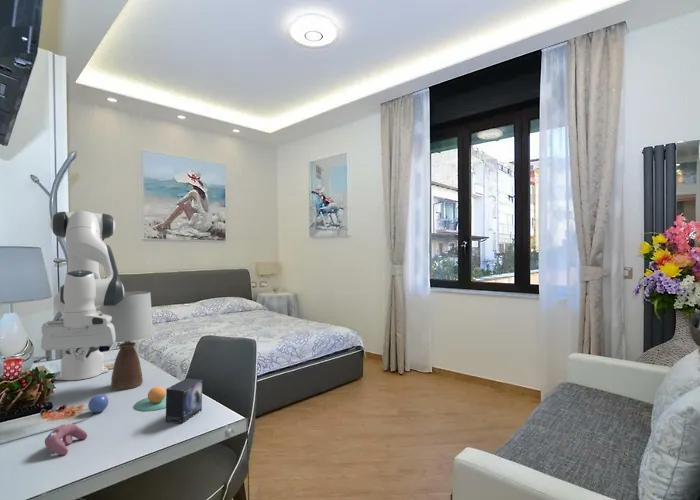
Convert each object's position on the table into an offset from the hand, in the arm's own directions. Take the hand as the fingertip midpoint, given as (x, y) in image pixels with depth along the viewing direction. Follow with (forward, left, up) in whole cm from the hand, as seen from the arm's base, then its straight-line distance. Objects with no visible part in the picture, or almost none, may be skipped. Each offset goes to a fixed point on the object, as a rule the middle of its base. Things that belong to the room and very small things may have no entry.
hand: (79, 361), depth 123 cm
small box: (+23, +28, -17) cm, 40 cm away
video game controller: (+25, -2, -18) cm, 31 cm away
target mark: (+6, +22, -17) cm, 29 cm away
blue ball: (+3, +5, -14) cm, 16 cm away
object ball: (+6, +22, -14) cm, 27 cm away
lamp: (-21, +15, -17) cm, 31 cm away
